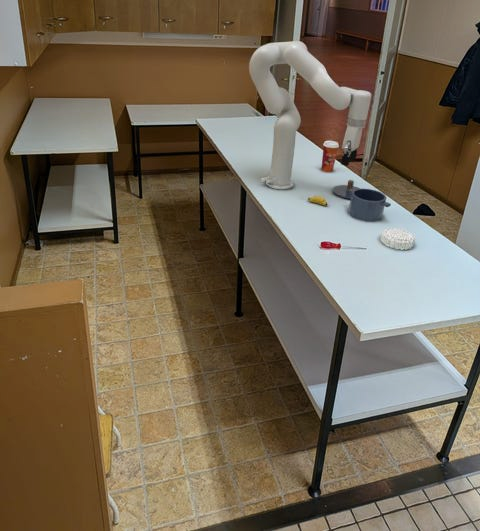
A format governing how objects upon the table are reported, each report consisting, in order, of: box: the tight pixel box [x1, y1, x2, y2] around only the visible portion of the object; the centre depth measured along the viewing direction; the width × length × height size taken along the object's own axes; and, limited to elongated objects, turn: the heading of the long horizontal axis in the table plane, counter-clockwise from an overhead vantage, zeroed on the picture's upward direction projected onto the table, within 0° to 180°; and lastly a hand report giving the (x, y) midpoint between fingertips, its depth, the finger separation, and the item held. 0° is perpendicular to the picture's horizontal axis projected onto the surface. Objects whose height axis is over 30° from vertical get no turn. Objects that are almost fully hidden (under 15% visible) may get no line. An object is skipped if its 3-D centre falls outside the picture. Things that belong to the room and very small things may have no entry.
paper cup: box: [321, 140, 340, 173], centre depth 245 cm, size 8×8×14 cm
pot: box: [347, 188, 392, 222], centre depth 203 cm, size 14×19×8 cm
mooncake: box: [379, 227, 416, 251], centre depth 184 cm, size 12×12×4 cm
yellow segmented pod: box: [307, 195, 329, 207], centre depth 211 cm, size 9×3×3 cm, turn 60°
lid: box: [332, 179, 362, 200], centre depth 222 cm, size 15×15×6 cm
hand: (348, 162), depth 213 cm, fingers open, 9 cm apart
